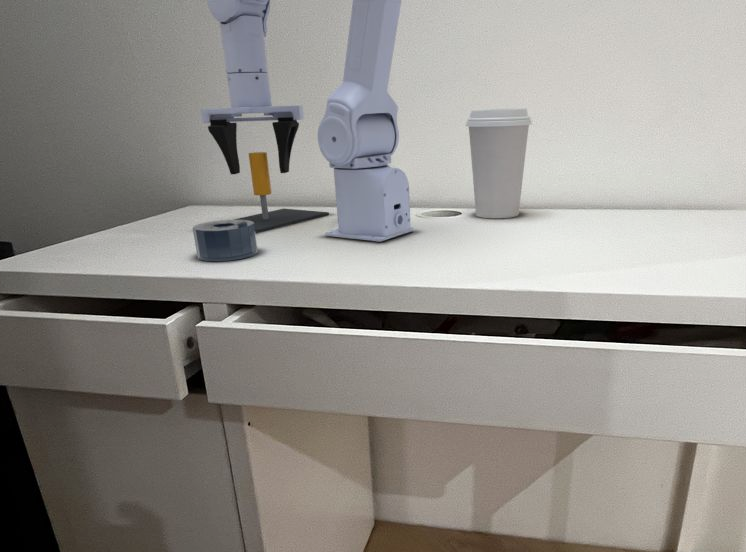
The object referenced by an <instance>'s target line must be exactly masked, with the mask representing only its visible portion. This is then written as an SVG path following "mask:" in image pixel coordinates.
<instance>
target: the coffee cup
mask: <svg viewBox="0 0 746 552" xmlns="http://www.w3.org/2000/svg"><path fill="white" fill-rule="evenodd" d="M531 125H533V121H532V119H531V116H530V115H529V113H528V109H527V108H492V109H491V108H489V109H471V111H470V114H469V117H468V118H467V120H466V123H465V127H468V135H469V145H470V146H469V147H470V157H471V169H472V171H471V173H472V184H473V195H474V197H473V198H474V207H475V216H476V217H478V218H483V219H510V218H515V217H518V216H519V215H520V208H521V207H520V206H521V197H522V189H523V178H524V169H525V161H526V152H527V143H528V135H529V128H530V126H531Z"/></svg>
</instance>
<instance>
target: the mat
mask: <svg viewBox="0 0 746 552" xmlns="http://www.w3.org/2000/svg"><path fill="white" fill-rule="evenodd" d="M329 215H330V212H329V211H318V210H306V209H293V208H279V209H276V210H271V211H268V216H269V219H268V220H263V216H262V212H261V213H257V214H253V215H252V214H251V215H247V216H244V217H239V218H233V220H249V221H252V222H254V226H255V234H257V233H261V232H265V231H266V232H267V231H269V230H274V229H277V228H281V227H286V226H290V225H294V224H297V223H301V222H306V221H310V220H313V219H318V218H322V217H325V216H329Z"/></svg>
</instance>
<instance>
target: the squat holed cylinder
mask: <svg viewBox="0 0 746 552" xmlns="http://www.w3.org/2000/svg"><path fill="white" fill-rule="evenodd" d="M192 232H193V239H194V240H193V241H194V245H195V250H196V255H197V258H198V260H201V261H203V262H229V261H230V262H232V261H238V260H243V259H248V258H250V257H253V256H255V255H257V254H258V241H257V235H256V234H257V233H255V226H254V222H252V221H249V220H234V219H221V220H213V221H207V222H206V221H205V222H201V223H197V224H195V225H194V226H193V227H192Z"/></svg>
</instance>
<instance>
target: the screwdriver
mask: <svg viewBox="0 0 746 552" xmlns="http://www.w3.org/2000/svg"><path fill="white" fill-rule="evenodd" d="M248 159H249V165H250V166H249V167H250V176H251V183H252V191H253V196H259V200H260V206H261V213H262V216H263V220H268V219H269V216H268V212H269V207H268V200H267V196H269V195H272V187H271V177H270V169H269V160H268V153H267V152H266V151H258V152H257V151H255V152H249V153H248Z"/></svg>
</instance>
